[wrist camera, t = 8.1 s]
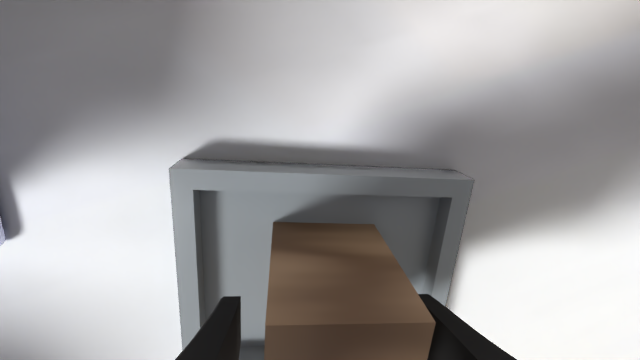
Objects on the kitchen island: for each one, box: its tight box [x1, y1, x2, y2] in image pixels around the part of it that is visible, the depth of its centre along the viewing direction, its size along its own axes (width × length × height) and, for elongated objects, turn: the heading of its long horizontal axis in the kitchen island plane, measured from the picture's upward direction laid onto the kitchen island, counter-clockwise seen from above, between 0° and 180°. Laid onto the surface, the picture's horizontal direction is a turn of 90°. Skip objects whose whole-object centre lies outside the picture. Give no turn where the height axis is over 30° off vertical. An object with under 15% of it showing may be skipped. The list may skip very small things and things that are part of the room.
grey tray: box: [169, 159, 474, 360], centre depth 14 cm, size 12×10×2 cm
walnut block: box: [264, 222, 436, 360], centre depth 12 cm, size 4×4×6 cm
